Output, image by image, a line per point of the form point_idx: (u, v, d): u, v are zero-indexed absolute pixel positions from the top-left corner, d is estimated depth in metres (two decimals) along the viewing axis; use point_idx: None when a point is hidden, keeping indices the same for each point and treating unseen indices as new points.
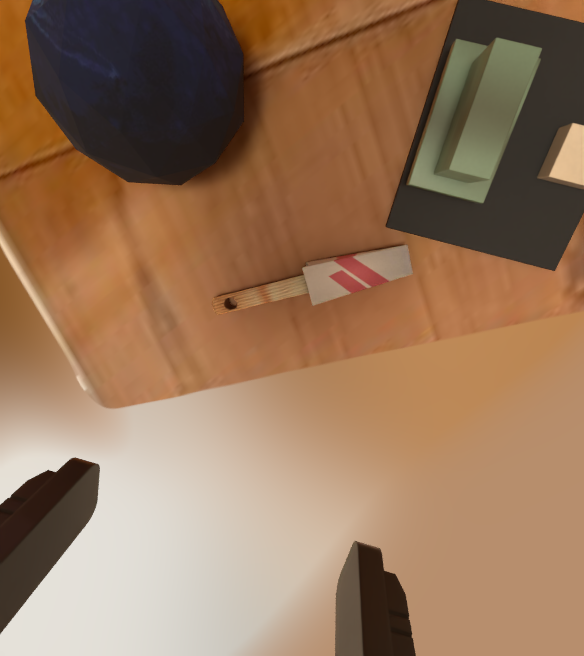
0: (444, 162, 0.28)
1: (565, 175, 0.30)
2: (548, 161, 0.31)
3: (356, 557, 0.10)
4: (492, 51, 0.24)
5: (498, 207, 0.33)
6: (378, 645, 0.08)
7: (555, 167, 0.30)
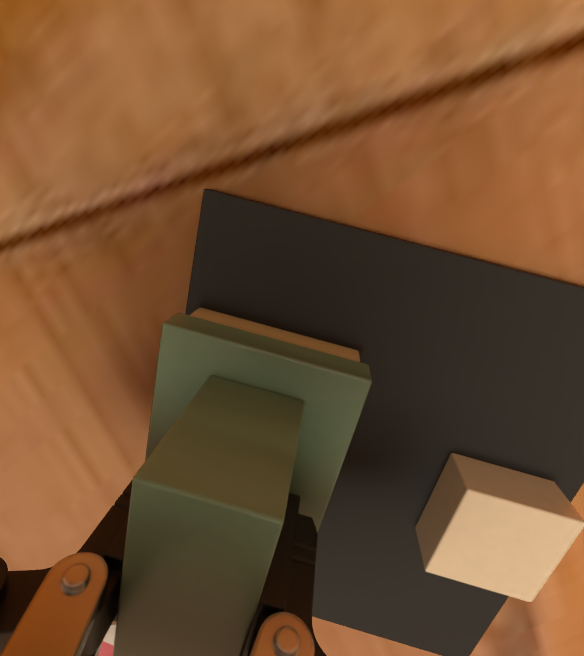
0: None
1: (460, 574, 0.13)
2: (430, 521, 0.14)
3: None
4: (132, 509, 0.07)
5: (347, 563, 0.17)
6: (277, 566, 0.09)
7: (437, 560, 0.13)
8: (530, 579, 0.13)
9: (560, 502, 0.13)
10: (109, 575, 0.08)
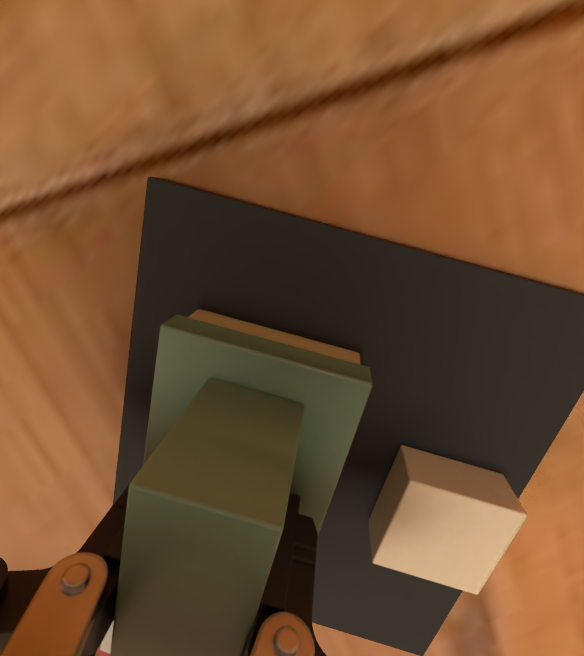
0: None
1: (406, 566, 0.13)
2: (379, 513, 0.14)
3: None
4: (128, 516, 0.07)
5: None
6: (277, 566, 0.09)
7: (383, 551, 0.13)
8: (475, 571, 0.13)
9: (504, 494, 0.13)
10: (109, 575, 0.08)
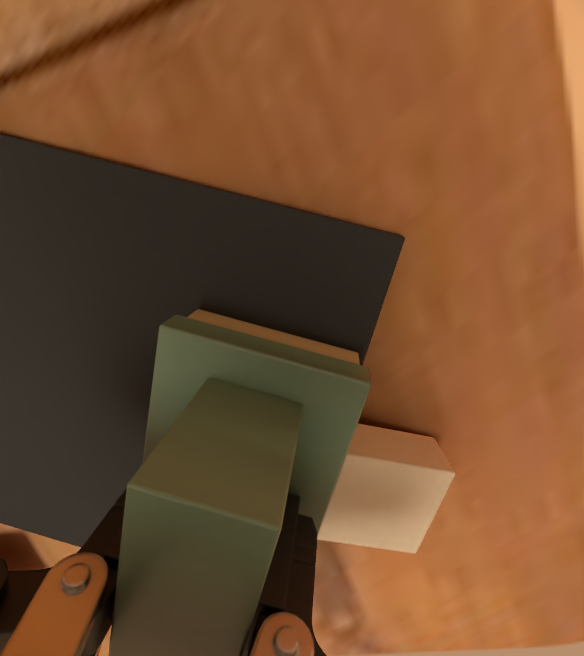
0: None
1: (349, 537, 0.14)
2: None
3: None
4: (127, 516, 0.07)
5: None
6: (277, 566, 0.09)
7: (325, 527, 0.13)
8: (412, 532, 0.14)
9: (435, 456, 0.13)
10: (109, 575, 0.08)
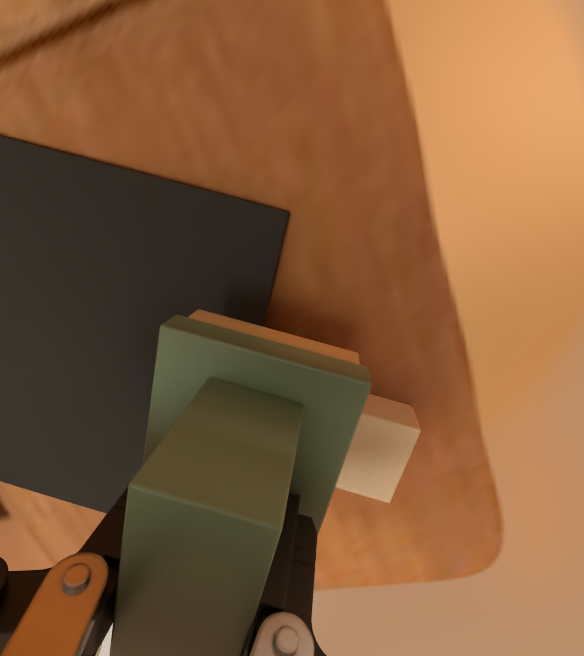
0: None
1: None
2: None
3: None
4: (128, 515, 0.07)
5: (95, 451, 0.19)
6: (277, 566, 0.09)
7: None
8: (385, 481, 0.16)
9: (406, 417, 0.16)
10: (109, 575, 0.08)
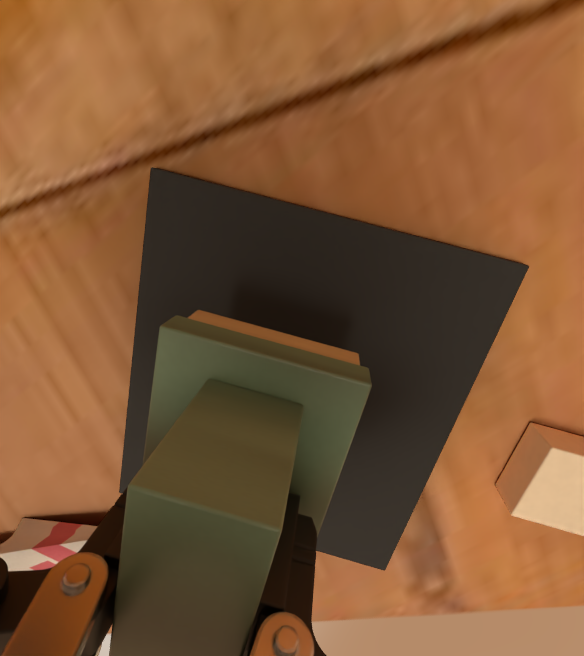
0: None
1: (540, 517, 0.17)
2: (512, 477, 0.18)
3: None
4: (127, 517, 0.07)
5: None
6: (277, 566, 0.09)
7: (522, 506, 0.17)
8: None
9: None
10: (110, 575, 0.08)
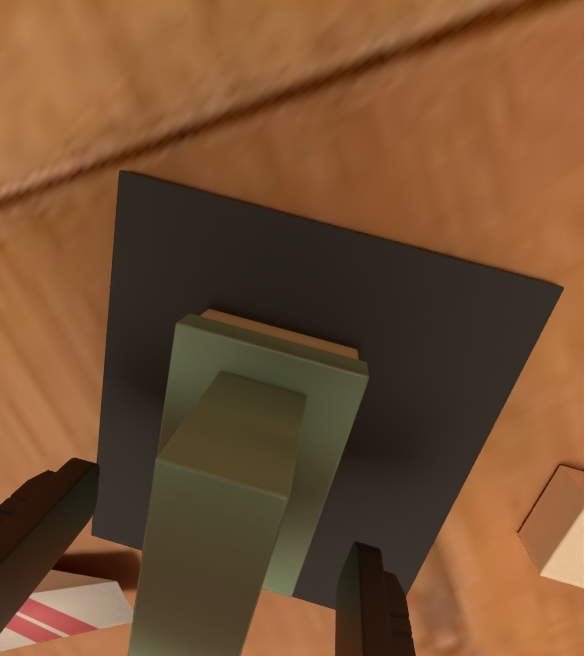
0: None
1: (573, 578, 0.15)
2: (539, 528, 0.15)
3: (356, 557, 0.10)
4: (154, 487, 0.08)
5: None
6: (378, 645, 0.08)
7: (553, 565, 0.14)
8: None
9: None
10: None
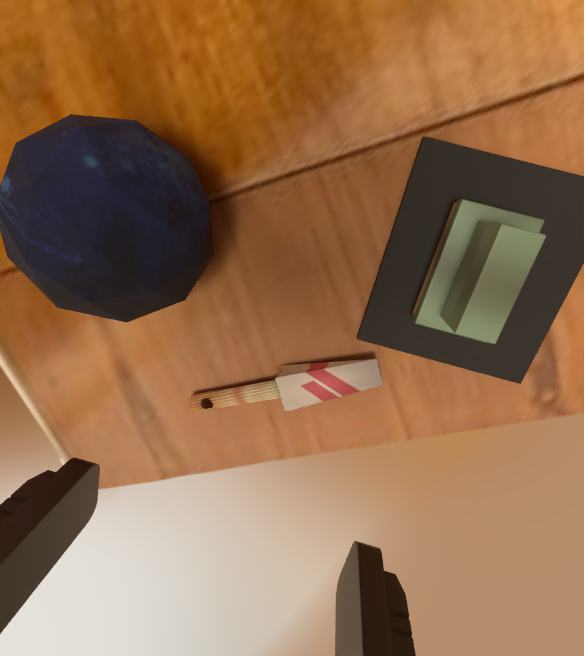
0: (450, 317, 0.29)
1: None
2: None
3: (356, 557, 0.10)
4: (498, 235, 0.24)
5: None
6: (378, 645, 0.08)
7: None
8: None
9: None
10: None
